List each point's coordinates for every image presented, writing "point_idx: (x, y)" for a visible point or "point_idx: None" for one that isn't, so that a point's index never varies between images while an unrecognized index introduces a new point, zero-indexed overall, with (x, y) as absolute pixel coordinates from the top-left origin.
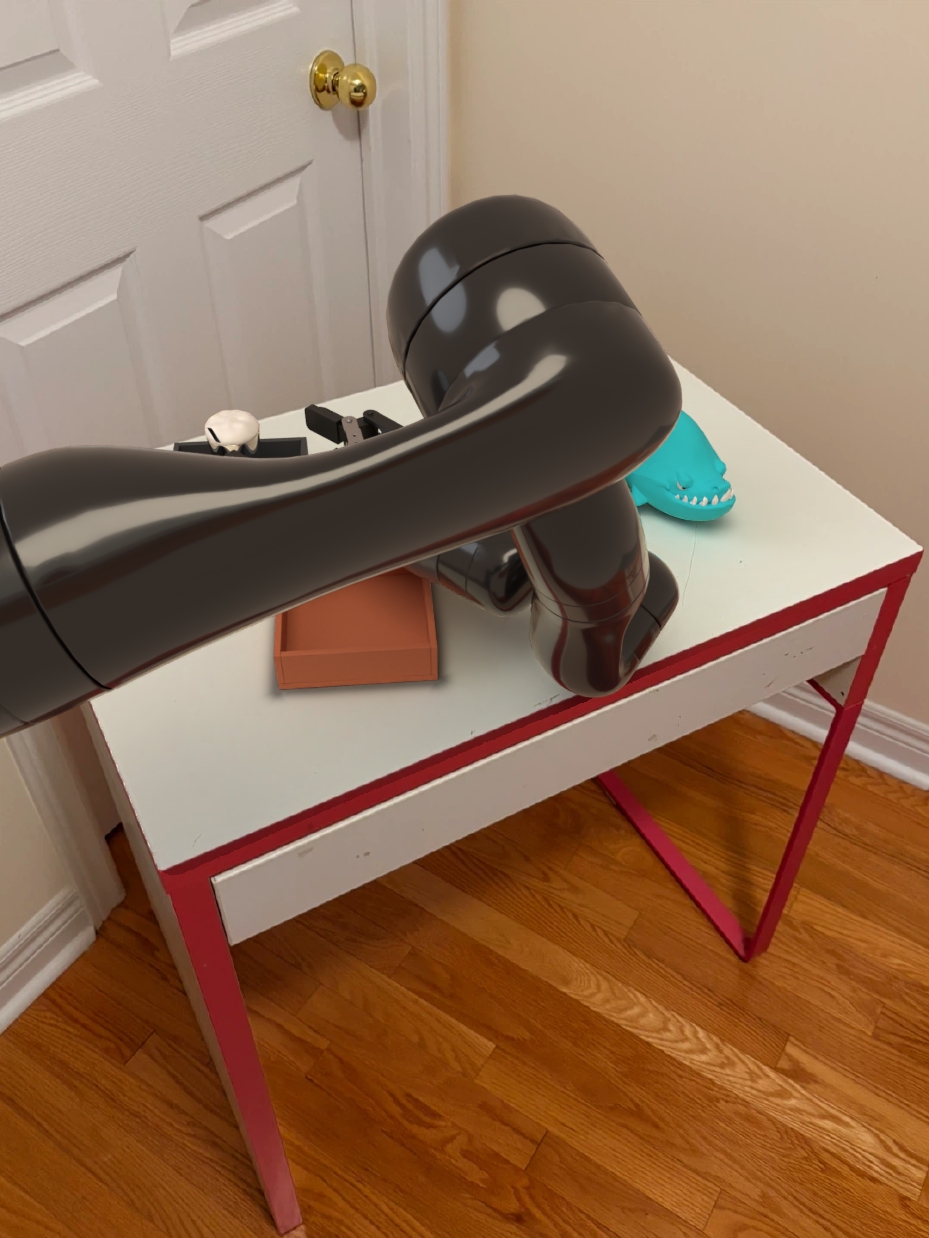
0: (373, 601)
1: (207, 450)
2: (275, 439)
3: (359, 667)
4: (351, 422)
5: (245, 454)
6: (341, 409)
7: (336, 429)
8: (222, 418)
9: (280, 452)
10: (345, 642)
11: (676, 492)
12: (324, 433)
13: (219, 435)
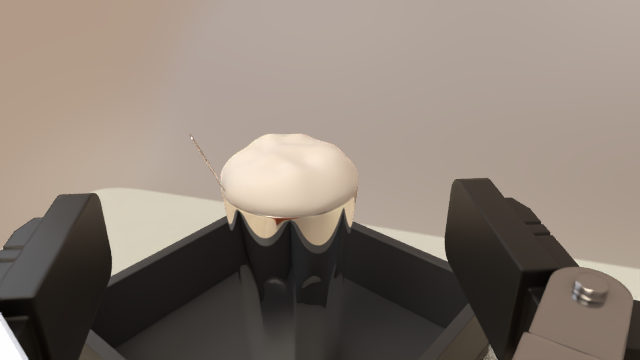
0: None
1: None
2: (433, 259)
3: None
4: (596, 306)
5: (274, 248)
6: (627, 271)
7: (514, 302)
8: (276, 144)
9: (434, 289)
10: None
11: None
12: (476, 294)
13: (232, 173)
